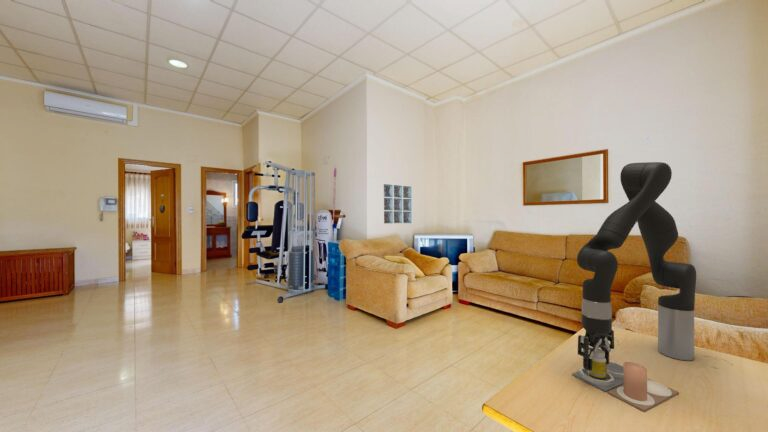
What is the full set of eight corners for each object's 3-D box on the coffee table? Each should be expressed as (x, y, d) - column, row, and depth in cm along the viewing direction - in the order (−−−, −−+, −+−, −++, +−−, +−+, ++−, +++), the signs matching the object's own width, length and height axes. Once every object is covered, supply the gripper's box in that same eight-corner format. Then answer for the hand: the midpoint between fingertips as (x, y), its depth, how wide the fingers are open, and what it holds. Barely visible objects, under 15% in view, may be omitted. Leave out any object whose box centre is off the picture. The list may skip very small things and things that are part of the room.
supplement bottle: (609, 382, 87) (609, 354, 87) (592, 381, 88) (592, 353, 88) (601, 374, 92) (601, 347, 92) (584, 372, 93) (584, 346, 92)
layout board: (606, 362, 99) (606, 337, 99) (678, 393, 82) (679, 362, 82) (572, 375, 92) (572, 347, 92) (644, 412, 75) (644, 378, 75)
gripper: (597, 307, 96) (597, 355, 96) (569, 313, 90) (569, 365, 90) (623, 314, 89) (623, 366, 89) (595, 322, 83) (595, 378, 83)
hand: (596, 366), depth 90 cm, fingers open, 8 cm apart
